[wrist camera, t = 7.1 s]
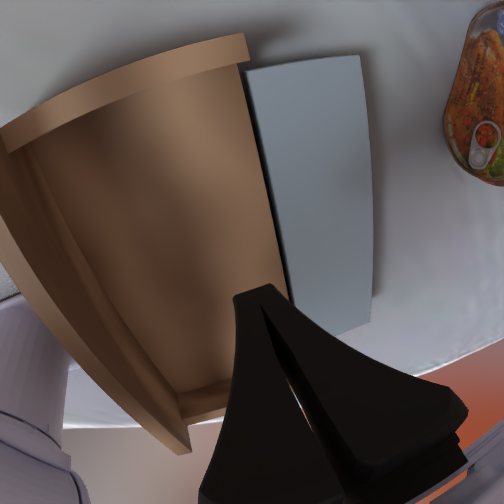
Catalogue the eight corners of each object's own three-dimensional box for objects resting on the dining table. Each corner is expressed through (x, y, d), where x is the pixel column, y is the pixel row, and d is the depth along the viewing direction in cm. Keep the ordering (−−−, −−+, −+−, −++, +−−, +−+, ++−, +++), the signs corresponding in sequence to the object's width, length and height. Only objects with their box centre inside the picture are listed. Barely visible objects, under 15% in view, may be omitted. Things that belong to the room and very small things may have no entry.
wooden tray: (167, 385, 26) (177, 455, 20) (18, 122, 13) (-51, 159, 7) (292, 345, 27) (323, 410, 22) (222, 41, 14) (262, 24, 8)
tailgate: (302, 348, 25) (369, 321, 25) (247, 71, 13) (359, 55, 14) (296, 333, 26) (361, 309, 26) (240, 71, 14) (344, 54, 15)
